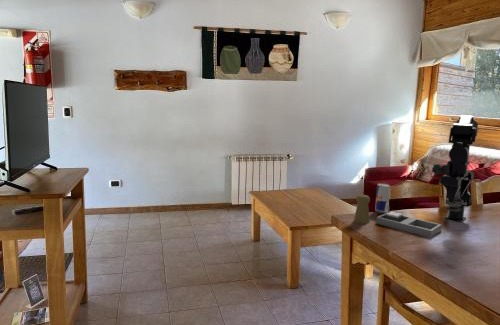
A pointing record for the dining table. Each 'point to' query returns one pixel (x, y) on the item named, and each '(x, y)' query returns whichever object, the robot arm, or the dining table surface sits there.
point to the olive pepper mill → (362, 209)
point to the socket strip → (411, 225)
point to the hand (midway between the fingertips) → (454, 200)
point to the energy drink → (382, 198)
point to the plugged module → (394, 216)
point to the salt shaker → (455, 202)
